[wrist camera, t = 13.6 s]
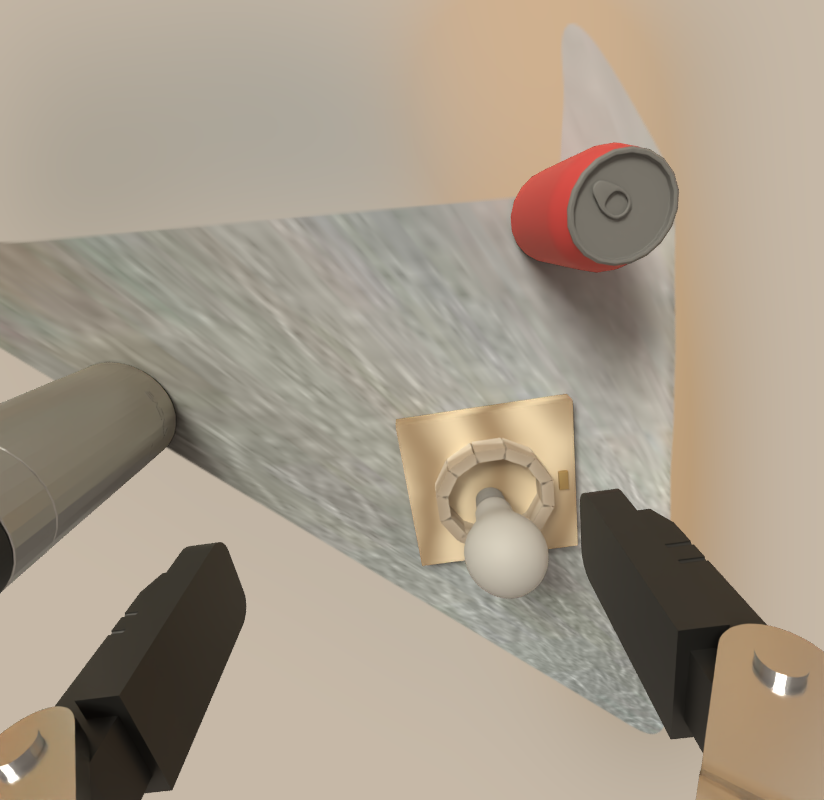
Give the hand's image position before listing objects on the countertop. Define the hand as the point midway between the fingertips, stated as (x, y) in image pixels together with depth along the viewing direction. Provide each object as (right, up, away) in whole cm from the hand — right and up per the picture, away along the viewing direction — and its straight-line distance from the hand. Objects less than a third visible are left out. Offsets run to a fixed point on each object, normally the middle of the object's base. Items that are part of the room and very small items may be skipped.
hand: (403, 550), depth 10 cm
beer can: (+11, +17, +24) cm, 31 cm away
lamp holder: (+7, -4, +32) cm, 33 cm away
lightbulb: (+7, -5, +31) cm, 32 cm away
